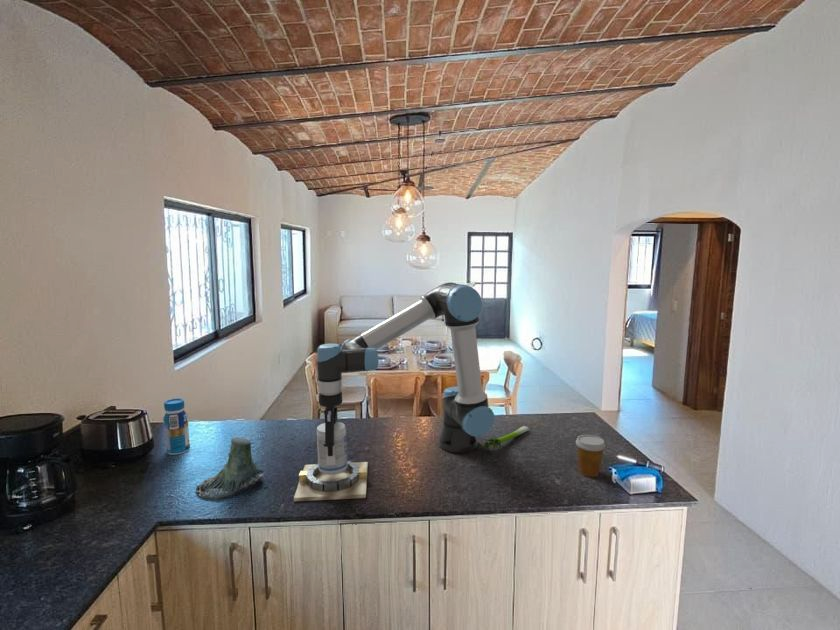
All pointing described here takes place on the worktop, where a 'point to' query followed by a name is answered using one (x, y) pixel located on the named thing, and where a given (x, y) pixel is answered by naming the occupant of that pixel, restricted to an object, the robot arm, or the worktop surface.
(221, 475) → the tree stump
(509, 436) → the leek
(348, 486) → the ring
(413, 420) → the worktop surface
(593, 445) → the disposable coffee cup
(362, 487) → the base plate
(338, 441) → the supplement tub
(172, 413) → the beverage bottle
